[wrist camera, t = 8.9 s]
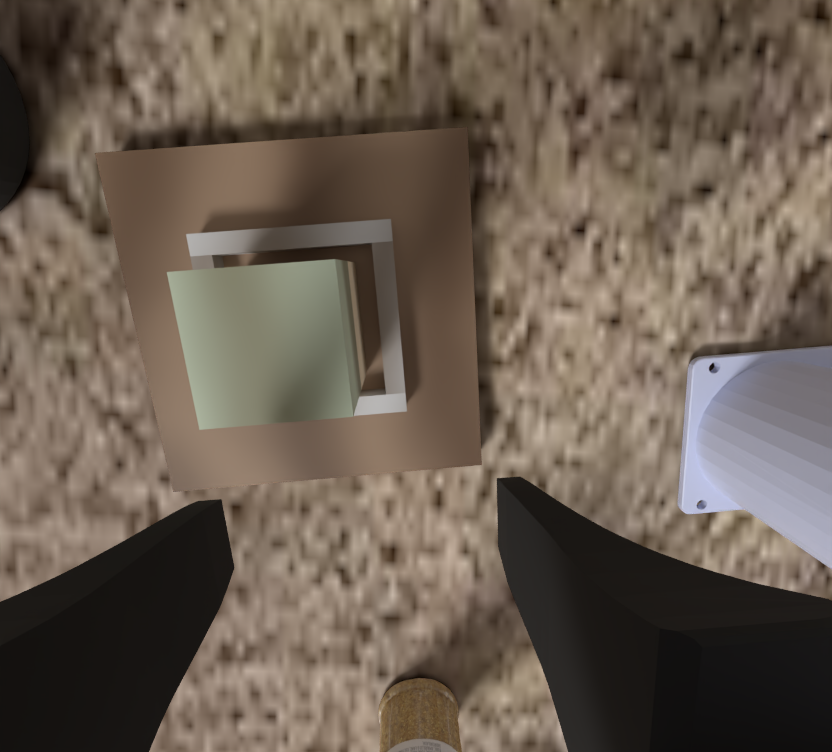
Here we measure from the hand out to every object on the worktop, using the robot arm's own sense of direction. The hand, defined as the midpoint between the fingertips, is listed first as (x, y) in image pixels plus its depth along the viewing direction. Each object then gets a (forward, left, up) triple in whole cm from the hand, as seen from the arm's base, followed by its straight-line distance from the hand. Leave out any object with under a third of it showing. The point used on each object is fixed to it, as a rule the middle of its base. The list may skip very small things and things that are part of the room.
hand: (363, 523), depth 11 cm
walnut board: (+3, -4, -9) cm, 11 cm away
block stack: (+3, -5, -8) cm, 10 cm away
